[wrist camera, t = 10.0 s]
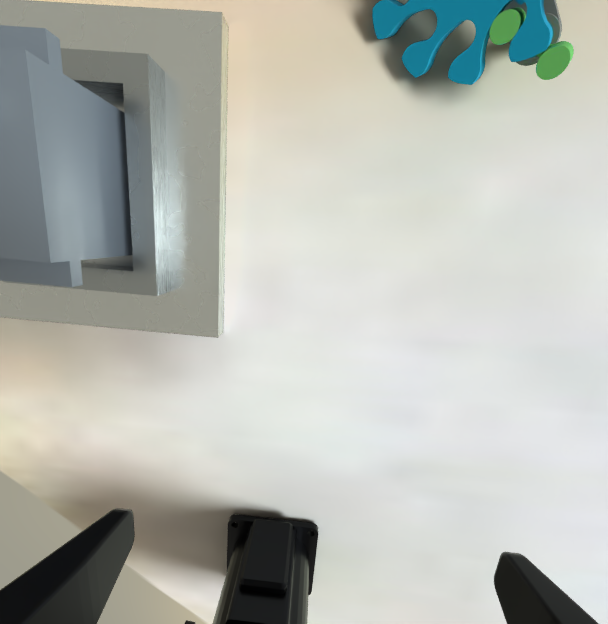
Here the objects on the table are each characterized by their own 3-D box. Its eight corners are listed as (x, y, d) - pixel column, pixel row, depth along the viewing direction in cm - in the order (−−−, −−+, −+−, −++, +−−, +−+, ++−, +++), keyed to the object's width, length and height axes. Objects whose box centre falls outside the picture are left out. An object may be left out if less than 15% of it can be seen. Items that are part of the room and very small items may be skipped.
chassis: (223, 332, 19) (209, 346, 17) (7, 312, 19) (-38, 323, 17) (228, 26, 15) (210, -14, 13) (-42, 10, 16) (-110, -33, 13)
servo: (136, 274, 17) (35, 294, 11) (61, 267, 17) (-79, 283, 11) (126, 89, 15) (-6, -11, 9) (41, 84, 15) (-147, -20, 9)
